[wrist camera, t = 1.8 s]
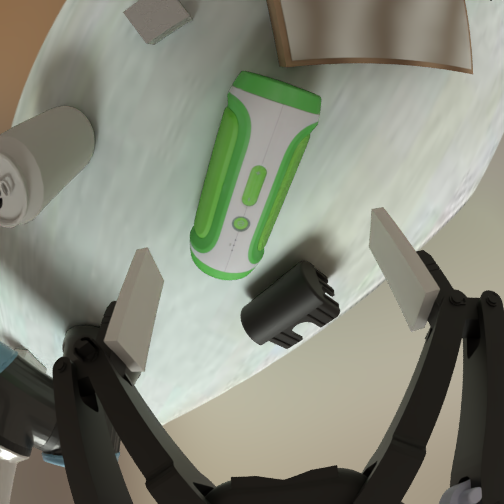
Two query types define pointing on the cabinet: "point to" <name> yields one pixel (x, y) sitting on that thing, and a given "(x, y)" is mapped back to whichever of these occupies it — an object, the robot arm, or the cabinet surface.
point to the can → (41, 161)
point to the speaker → (250, 172)
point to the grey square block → (157, 18)
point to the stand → (372, 32)
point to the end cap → (290, 306)
